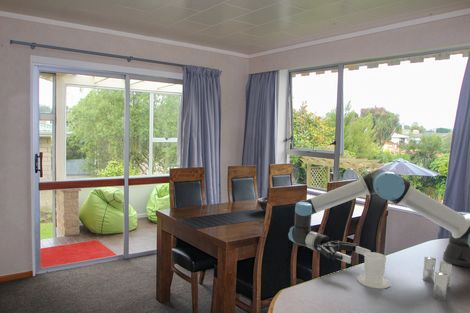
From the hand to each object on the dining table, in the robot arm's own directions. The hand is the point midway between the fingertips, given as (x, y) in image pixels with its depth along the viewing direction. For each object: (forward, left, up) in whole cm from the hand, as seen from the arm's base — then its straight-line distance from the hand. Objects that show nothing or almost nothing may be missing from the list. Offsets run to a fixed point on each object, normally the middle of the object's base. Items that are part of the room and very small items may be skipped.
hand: (360, 256), depth 152 cm
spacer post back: (-29, +13, -8) cm, 33 cm away
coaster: (-3, +5, -8) cm, 10 cm away
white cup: (-3, +5, -8) cm, 10 cm away
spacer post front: (-19, +22, -8) cm, 30 cm away
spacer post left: (-27, +7, -8) cm, 29 cm away
